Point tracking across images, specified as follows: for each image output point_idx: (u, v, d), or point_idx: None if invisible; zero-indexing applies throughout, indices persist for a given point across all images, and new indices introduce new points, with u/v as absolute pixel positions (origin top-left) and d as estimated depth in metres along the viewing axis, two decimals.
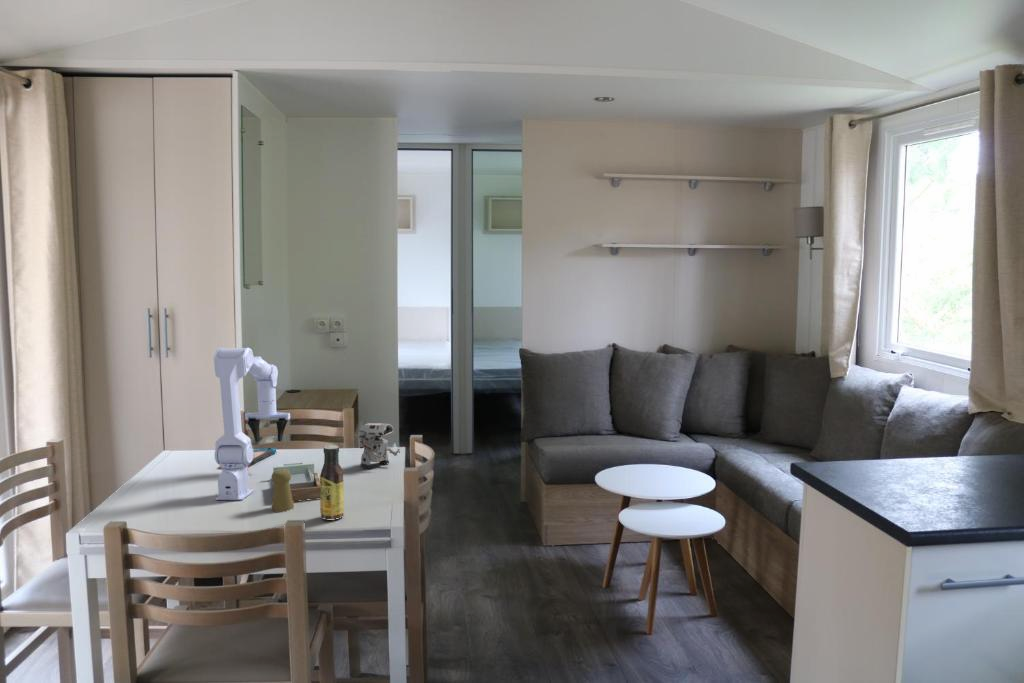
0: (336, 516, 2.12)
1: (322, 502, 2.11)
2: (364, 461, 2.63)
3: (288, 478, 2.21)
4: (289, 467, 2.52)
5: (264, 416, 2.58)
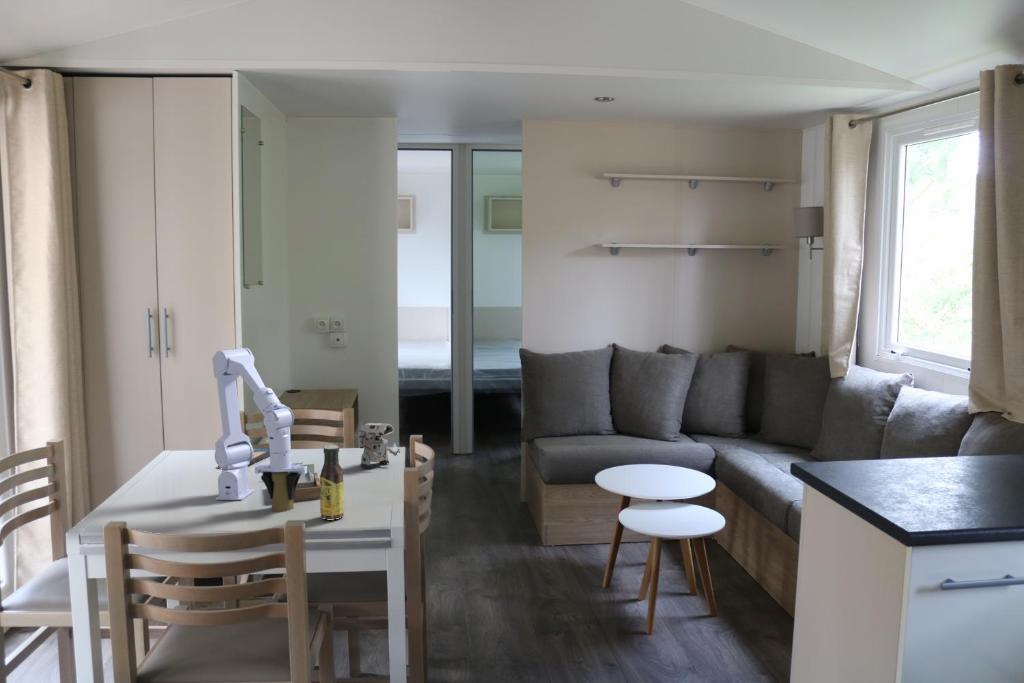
0: (336, 516, 2.12)
1: (322, 502, 2.11)
2: (364, 461, 2.63)
3: None
4: None
5: (276, 470, 2.18)
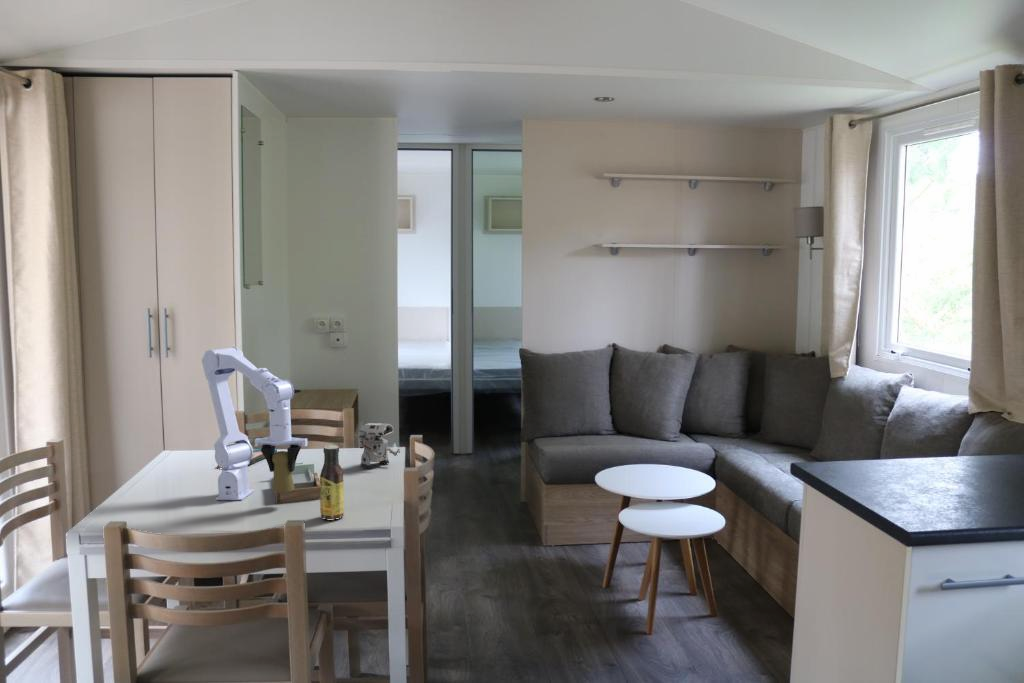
0: (336, 516, 2.12)
1: (322, 502, 2.11)
2: (364, 461, 2.63)
3: None
4: None
5: (277, 443, 2.19)
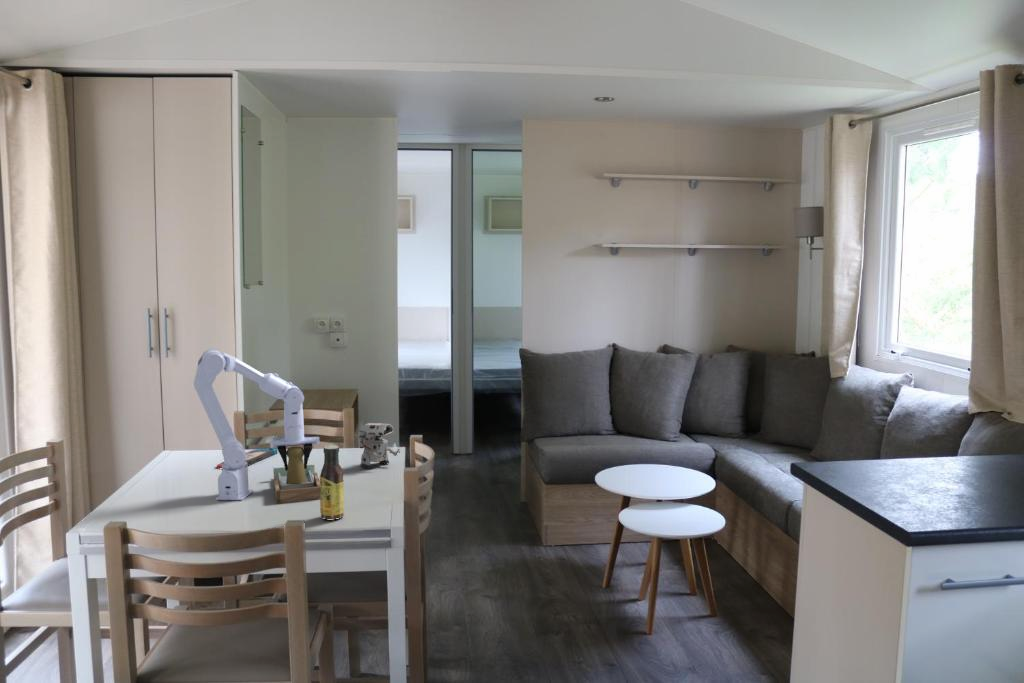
0: (336, 516, 2.12)
1: (322, 502, 2.11)
2: (364, 461, 2.63)
3: (303, 452, 2.41)
4: None
5: (295, 442, 2.38)
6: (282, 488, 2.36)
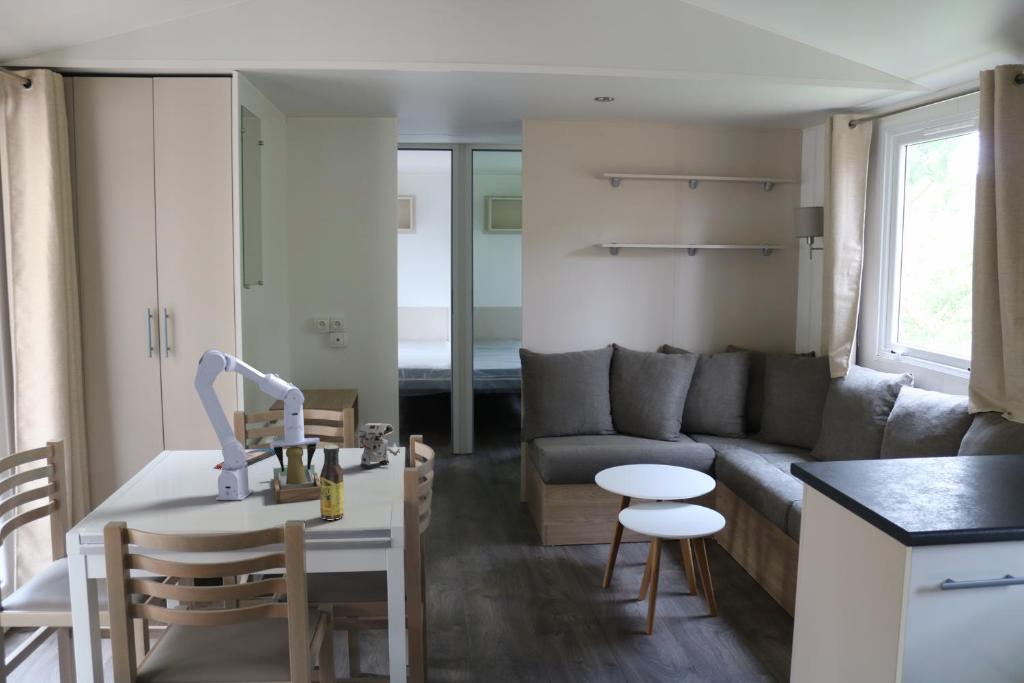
0: (336, 516, 2.12)
1: (322, 502, 2.11)
2: (364, 461, 2.63)
3: (302, 452, 2.41)
4: None
5: (295, 443, 2.38)
6: (282, 488, 2.36)
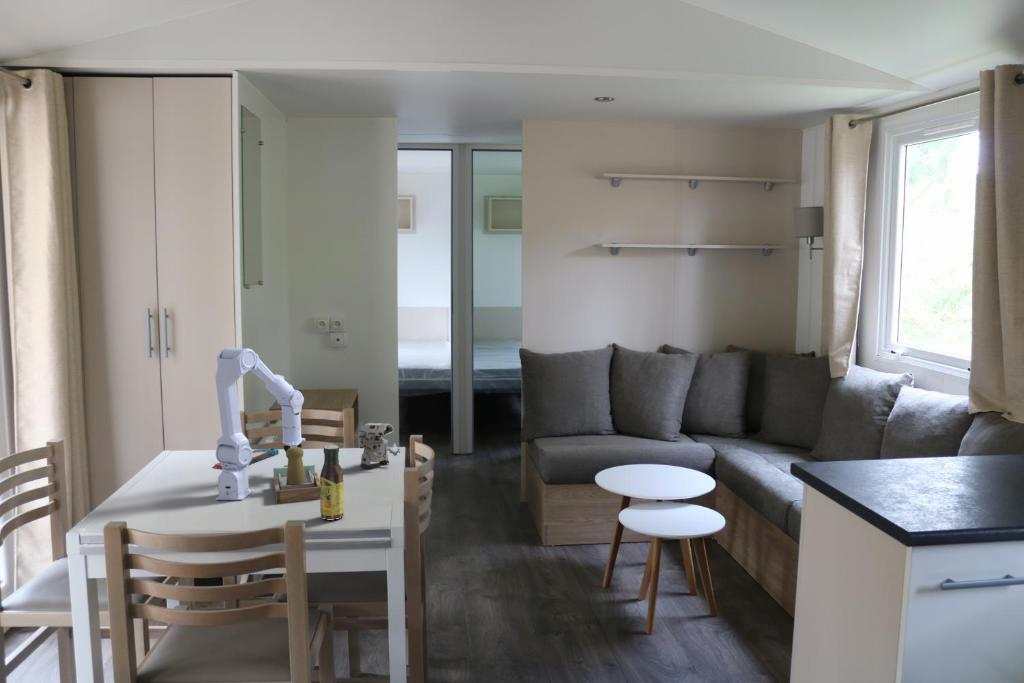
0: (336, 516, 2.12)
1: (322, 502, 2.11)
2: (364, 461, 2.63)
3: (303, 453, 2.40)
4: None
5: (282, 441, 2.53)
6: (282, 489, 2.35)
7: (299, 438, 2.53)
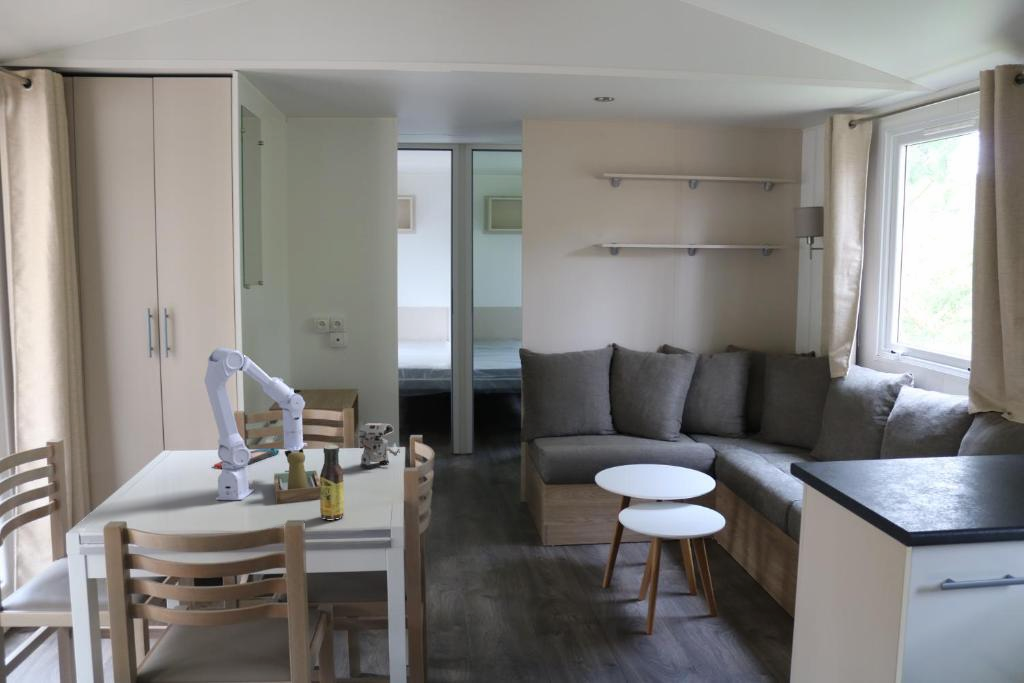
0: (336, 516, 2.12)
1: (322, 502, 2.11)
2: (364, 461, 2.63)
3: (304, 458, 2.34)
4: None
5: None
6: None
7: (301, 443, 2.46)
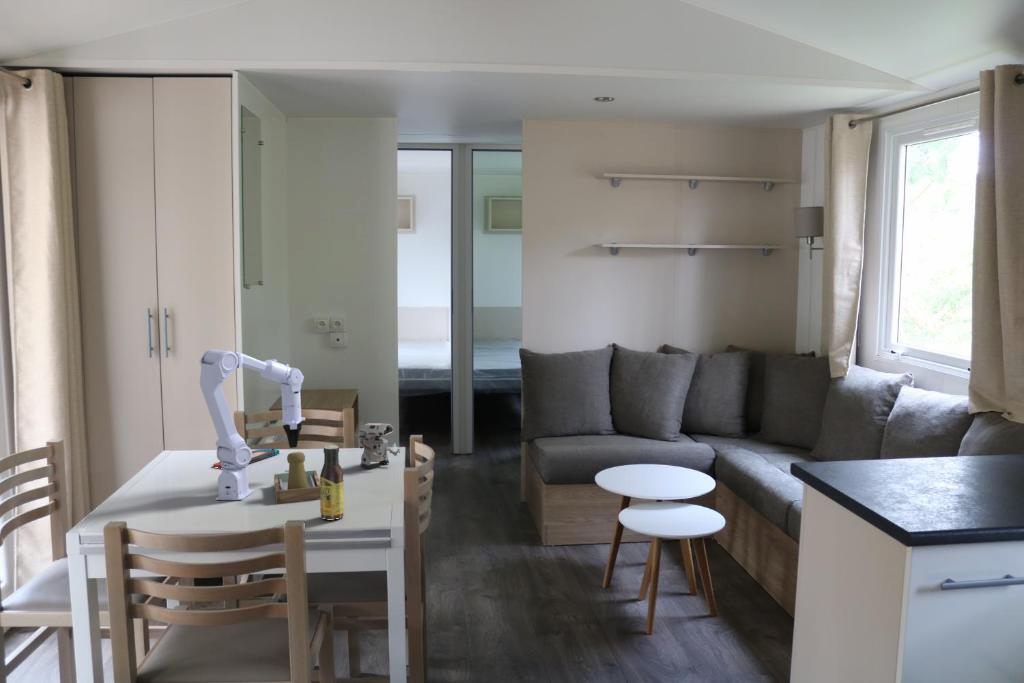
0: (336, 516, 2.12)
1: (322, 502, 2.11)
2: (364, 461, 2.63)
3: (304, 458, 2.34)
4: None
5: (282, 420, 2.49)
6: None
7: (299, 417, 2.49)
